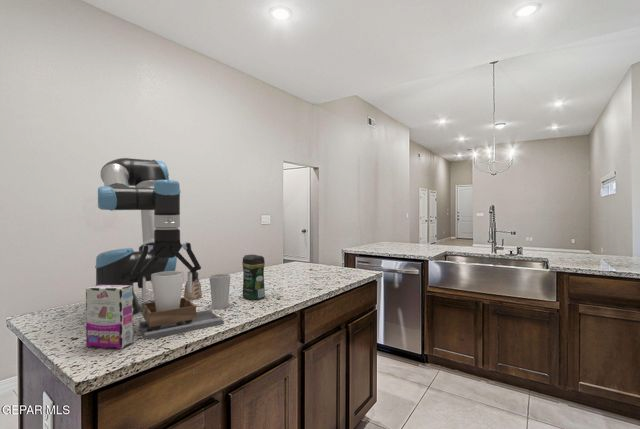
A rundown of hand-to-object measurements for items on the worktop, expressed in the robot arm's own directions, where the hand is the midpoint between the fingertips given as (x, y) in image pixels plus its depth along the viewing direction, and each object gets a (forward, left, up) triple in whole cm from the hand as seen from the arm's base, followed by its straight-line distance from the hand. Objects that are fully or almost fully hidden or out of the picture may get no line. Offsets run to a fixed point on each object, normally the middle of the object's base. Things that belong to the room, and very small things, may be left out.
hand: (167, 295), depth 105 cm
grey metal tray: (0, +4, -10) cm, 11 cm away
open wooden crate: (0, 0, -8) cm, 8 cm away
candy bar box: (+5, -16, -11) cm, 20 cm away
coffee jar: (-18, +38, -11) cm, 43 cm away
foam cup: (0, 0, -6) cm, 6 cm away
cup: (-14, +22, -11) cm, 28 cm away
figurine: (-34, +17, -11) cm, 39 cm away
